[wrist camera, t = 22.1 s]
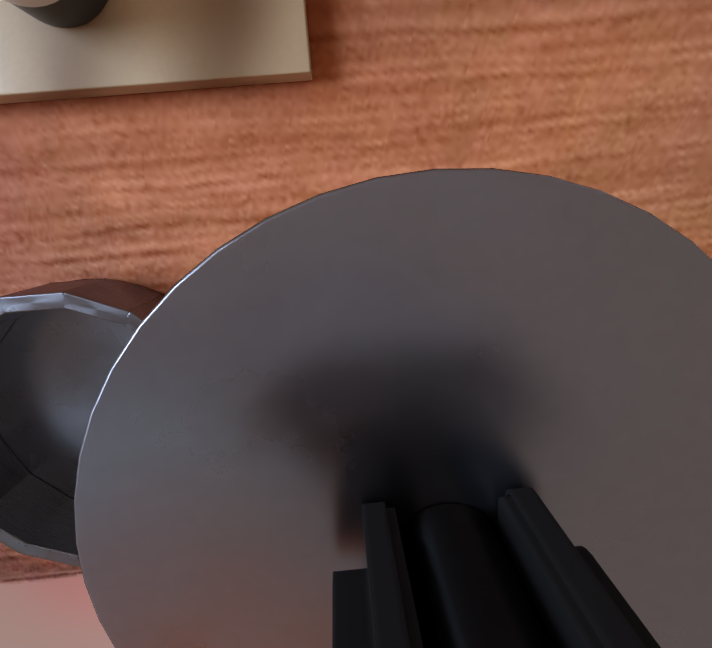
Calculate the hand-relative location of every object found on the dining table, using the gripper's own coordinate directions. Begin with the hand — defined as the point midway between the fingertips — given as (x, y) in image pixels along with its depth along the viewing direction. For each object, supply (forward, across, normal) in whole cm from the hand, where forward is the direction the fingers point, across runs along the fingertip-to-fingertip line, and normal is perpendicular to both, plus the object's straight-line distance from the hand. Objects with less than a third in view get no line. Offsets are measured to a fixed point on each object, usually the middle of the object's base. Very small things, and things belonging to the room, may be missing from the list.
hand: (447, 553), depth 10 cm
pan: (+17, +16, +3) cm, 24 cm away
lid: (+1, 0, 0) cm, 1 cm away
